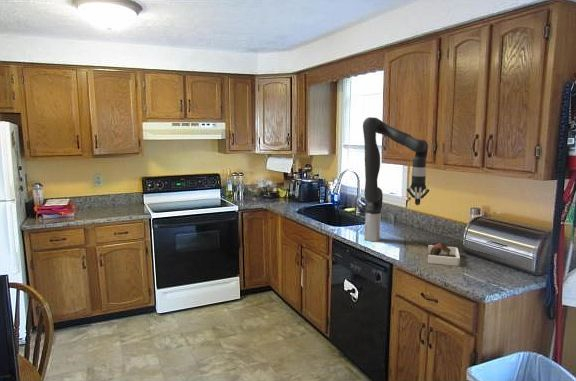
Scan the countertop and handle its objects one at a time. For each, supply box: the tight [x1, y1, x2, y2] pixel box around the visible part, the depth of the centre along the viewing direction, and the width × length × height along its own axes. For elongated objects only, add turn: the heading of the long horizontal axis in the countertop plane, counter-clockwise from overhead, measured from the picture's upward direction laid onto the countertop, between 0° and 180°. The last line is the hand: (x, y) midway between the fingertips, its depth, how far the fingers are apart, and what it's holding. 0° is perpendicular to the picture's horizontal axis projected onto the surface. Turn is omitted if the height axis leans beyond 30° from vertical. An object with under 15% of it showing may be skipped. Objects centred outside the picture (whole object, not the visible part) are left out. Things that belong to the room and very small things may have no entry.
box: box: [427, 244, 461, 267], centre depth 212 cm, size 15×20×4 cm
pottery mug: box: [429, 242, 451, 257], centre depth 215 cm, size 12×10×8 cm
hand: (417, 204), depth 230 cm, fingers closed
